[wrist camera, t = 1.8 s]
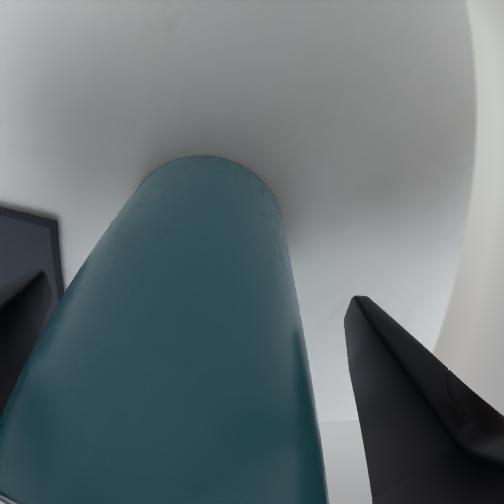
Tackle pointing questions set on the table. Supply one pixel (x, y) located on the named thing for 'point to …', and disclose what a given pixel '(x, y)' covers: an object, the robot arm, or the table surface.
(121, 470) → the can
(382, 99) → the table surface
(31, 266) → the mat
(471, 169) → the table surface
